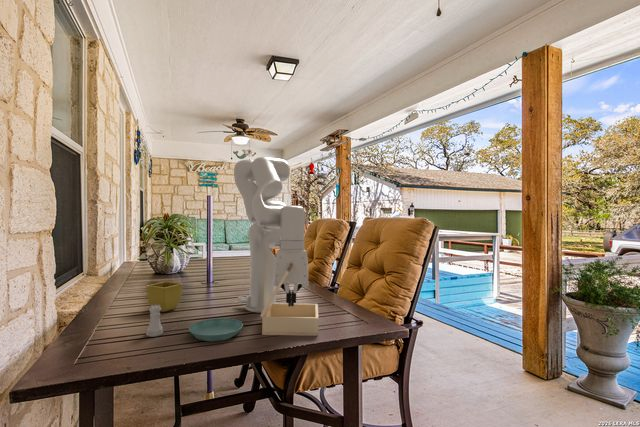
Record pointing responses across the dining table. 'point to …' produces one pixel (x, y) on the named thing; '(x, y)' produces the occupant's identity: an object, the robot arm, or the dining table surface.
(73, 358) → the dining table surface
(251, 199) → the robot arm
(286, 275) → the box lid
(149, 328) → the rook chess piece
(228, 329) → the saucer
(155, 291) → the flower pot
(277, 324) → the cream open box
